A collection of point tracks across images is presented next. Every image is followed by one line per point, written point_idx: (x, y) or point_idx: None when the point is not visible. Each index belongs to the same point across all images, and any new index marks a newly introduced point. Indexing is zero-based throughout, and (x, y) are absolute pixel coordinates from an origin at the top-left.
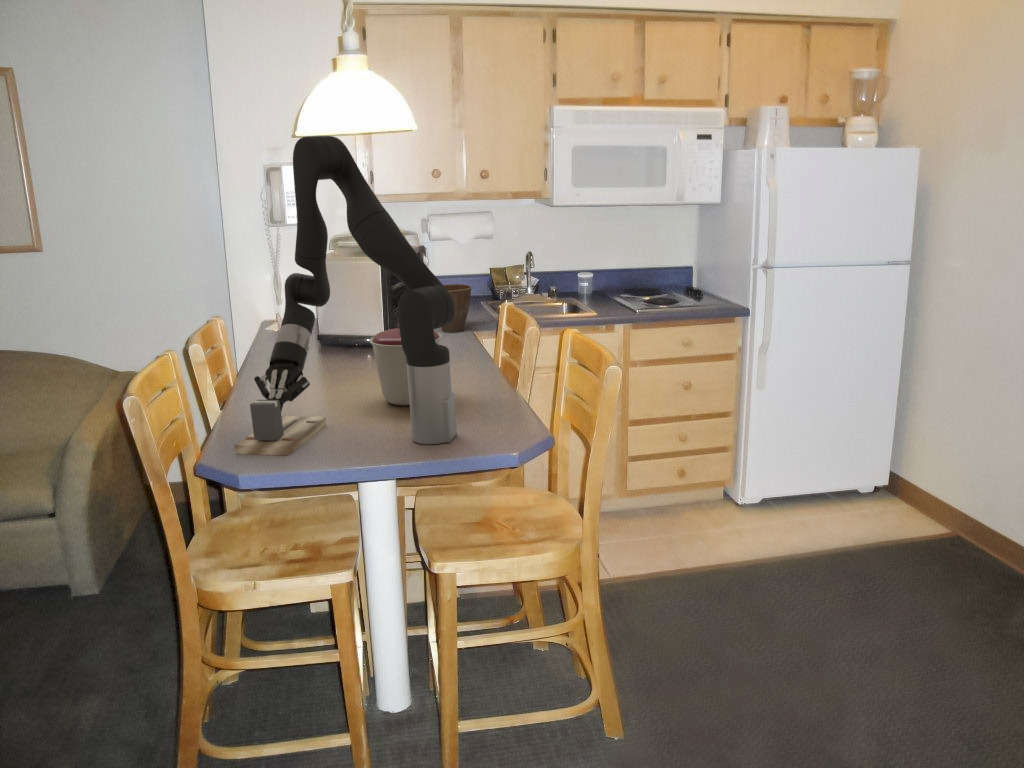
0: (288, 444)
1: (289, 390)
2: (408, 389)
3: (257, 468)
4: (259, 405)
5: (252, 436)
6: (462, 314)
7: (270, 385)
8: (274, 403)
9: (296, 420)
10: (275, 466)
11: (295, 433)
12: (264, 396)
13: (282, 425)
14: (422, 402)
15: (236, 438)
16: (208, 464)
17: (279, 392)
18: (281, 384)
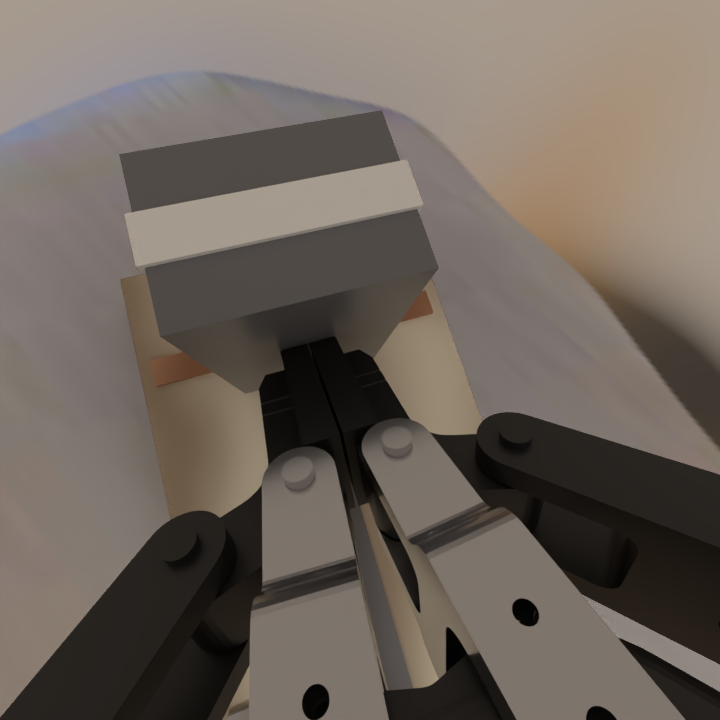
0: (134, 306)
1: (138, 623)
2: None
3: (177, 139)
4: (274, 134)
5: (423, 339)
6: None
7: (526, 544)
8: (132, 214)
9: (392, 687)
10: (111, 176)
11: (219, 470)
12: (492, 424)
13: (232, 384)
14: None
15: (562, 395)
16: (408, 122)
17: (313, 525)
18: (309, 657)
